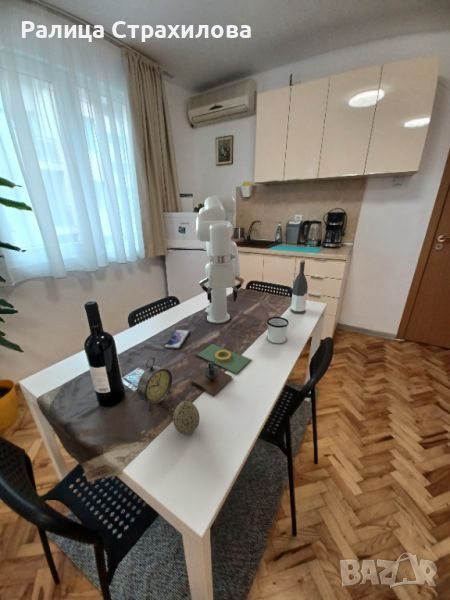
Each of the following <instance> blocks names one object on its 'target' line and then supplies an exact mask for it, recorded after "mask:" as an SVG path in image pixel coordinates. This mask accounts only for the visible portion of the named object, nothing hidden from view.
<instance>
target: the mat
mask: <svg viewBox="0 0 450 600" xmlns="http://www.w3.org/2000/svg"><path fill="white" fill-rule="evenodd" d="M219 350H227V351H229V352H231V359H230V360H229V361H226V362H220V361H218V360H216V359H215V353H216V352H218V351H219ZM227 356H228V355H226V354H220V355H219V357H221V358H224V357H227ZM196 357H199V358H201V359H203V360H205V361H207V362H209V361H213V362H214V365H215V366H218V367H220V368H223V369H224V370H227V371H229V372H231V373H233V374H235V375H237V374H238V373H240V372H241V371H242V370H243V369H244V368H245V367H246V366H247V365H248V363H250V362H251V358H248V357H245V356H243V355H241V354H238V353H236V352H234V351H232V350H228V349H226V348H223V347H222V346H219V345H216V344H214V343H211V344H209V345H208V346H207V347H205V348H204V349H202V350H201V351H200V352H198V353H197V354H196Z"/></svg>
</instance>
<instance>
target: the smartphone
mask: <svg viewBox="0 0 450 600" xmlns="http://www.w3.org/2000/svg"><path fill="white" fill-rule="evenodd" d="M189 333H190V330H188V329H187V330H185V329H176V330H175V331H174V332H173V334H172V335H171V336H170V338H169V339H168V340H167V342H166V343H165V344H164V348H165V349H180V348H181V346H182V345H183V343H184V341H185V340H186V339H187V337H188V335H189Z"/></svg>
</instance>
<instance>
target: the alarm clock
mask: <svg viewBox="0 0 450 600" xmlns="http://www.w3.org/2000/svg"><path fill="white" fill-rule="evenodd" d="M150 360H153V363H152V365H149V366H148V362H149V361H150ZM155 362H156V359H155V357H150V358H148V359H147V360H146V363H145V367H146V368H147V369H146V370H144V372H143V373H142V374H141V376H140V378H139V380H138V382H137V387H136V388H137V389H136V391H137V395H138V397H139V399H140V400H142V401H144V402H146V403H148V404H149V405H152V406H153V405H157V404H159V403H161V402H162V401H163V400H164V399H165V398H166V397H167V395H168V394H169V393H171V389H172V385H173V375H172V373H171V372H172V371H170V370H169V369H167V368H166V367H162V366H160V365H155ZM152 406H151V407H149V406H148V411H151V410H152V409H151V408H152Z"/></svg>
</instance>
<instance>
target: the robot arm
mask: <svg viewBox="0 0 450 600" xmlns="http://www.w3.org/2000/svg"><path fill="white" fill-rule="evenodd" d="M203 203H204V205H203V207H201V208H199V211H198V215H197V216H196V219H195V234H196V238H197V239H198V241H200V242H202V243H203V242H204V243H205V249H206V256H207V258H208V260H210V261H208V262H207V263H206V265H205V266H204V271H205V278H203V279H202V280H200V281H199V283H198V284H199V286H200V287H201V289H202V291H204V292H205V293H206V295H207V301H208V306H207V307H206V308H205V310H204V313H207V316H206V320H207V321H208V322H209V323H212V324H223V323H227V322H228V321H229V320H230V319H231V315H230V314H229V313H228V298H227V297H228V296H227V289H231V288H232V300H233V301H234V302H236V300H237V299H238V291H239V290H240V289H241V288H242V286H243V284H244V282H245V280H244V278H242V277H240V275H241V266H240V259H239V258H240V257H239V250H238V245H237V243H236V242H235V240H234V241H233V240H232V237H233V236H234V226H233V224H232V223H231V222H232V221H233V220H234V217H235V214H236V211H237V203H236V200H235V198H234V197H233V195H229V194H226V195H225V194H224V195H222V194H221V195H210V196H208V197H207V198H206V199H205V200H204V202H203ZM236 281H238V283H237V284H236ZM206 283H207V286H206V285H205V284H206Z"/></svg>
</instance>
